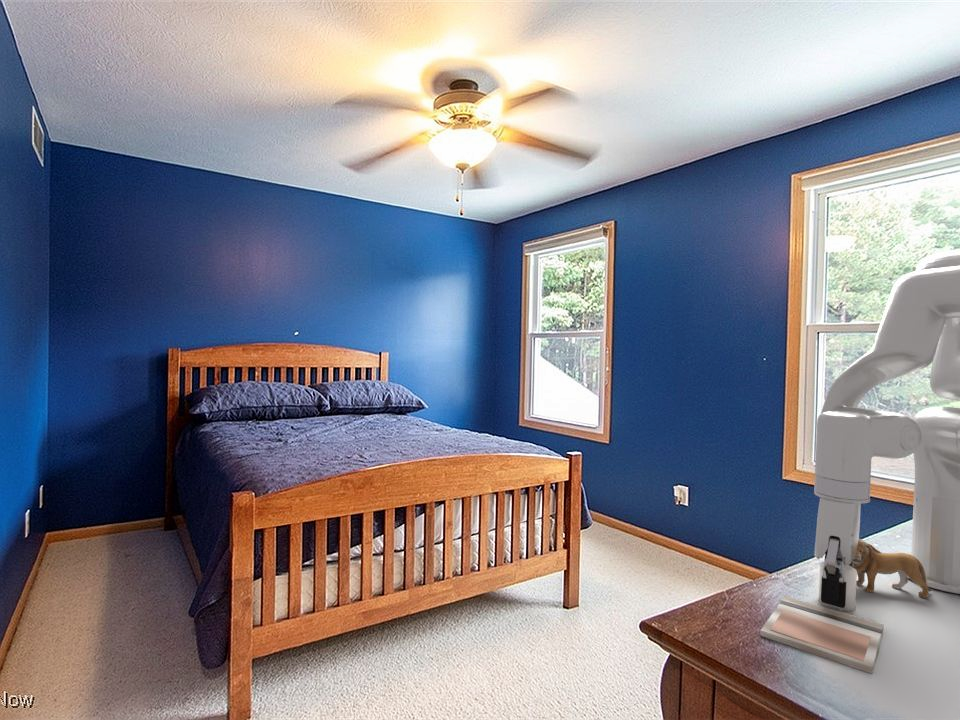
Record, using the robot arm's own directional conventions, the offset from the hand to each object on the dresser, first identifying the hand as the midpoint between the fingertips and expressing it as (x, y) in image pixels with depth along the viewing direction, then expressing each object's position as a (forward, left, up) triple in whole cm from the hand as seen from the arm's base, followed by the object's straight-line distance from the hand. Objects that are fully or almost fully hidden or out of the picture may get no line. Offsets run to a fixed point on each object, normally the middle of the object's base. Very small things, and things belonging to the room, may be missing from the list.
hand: (837, 595), depth 88 cm
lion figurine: (-12, +5, -2) cm, 13 cm away
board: (+12, 0, -1) cm, 13 cm away
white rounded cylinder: (0, 0, -1) cm, 1 cm away
